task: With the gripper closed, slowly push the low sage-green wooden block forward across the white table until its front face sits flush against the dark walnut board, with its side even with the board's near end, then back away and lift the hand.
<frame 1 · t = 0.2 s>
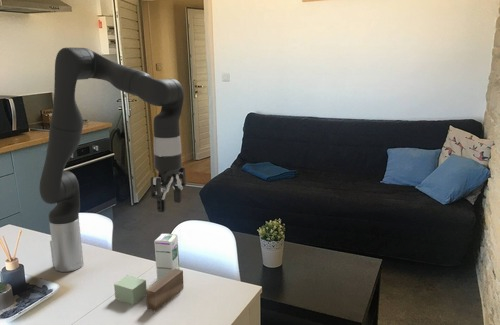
hand: (169, 206, 123), 29 cm above the table, tool pointing down, fingers open, 8 cm apart
syrup box: (168, 278, 140), on the table
walnut board: (166, 297, 129), on the table
sage block: (131, 297, 129), on the table
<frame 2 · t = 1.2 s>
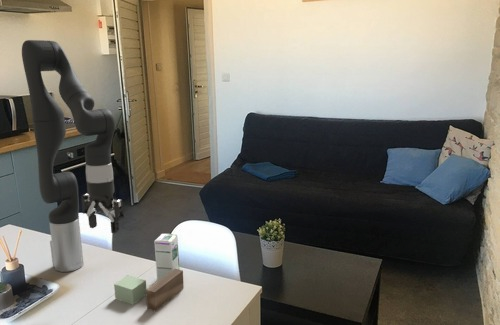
hand: (104, 229, 128), 20 cm above the table, tool pointing down, fingers open, 8 cm apart
nothing on the table moved.
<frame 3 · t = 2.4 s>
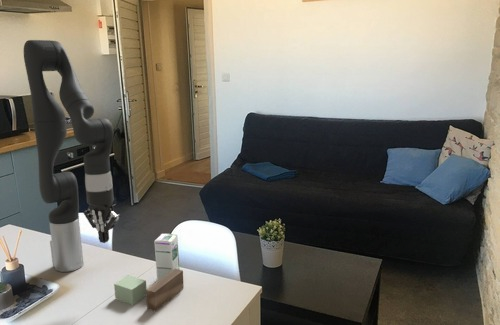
hand: (104, 241, 129), 16 cm above the table, tool pointing down, fingers closed
nothing on the table moved.
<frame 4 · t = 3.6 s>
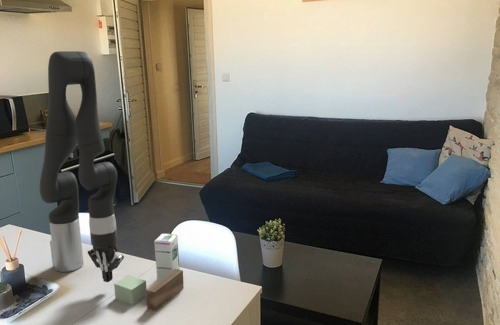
hand: (107, 280, 132), 3 cm above the table, tool pointing down, fingers closed
nothing on the table moved.
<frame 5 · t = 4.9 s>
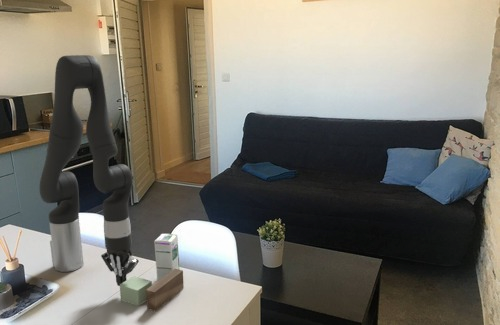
hand: (121, 284, 130), 3 cm above the table, tool pointing down, fingers closed
sage block: (136, 297, 129), on the table, touching gripper
everything else where it was.
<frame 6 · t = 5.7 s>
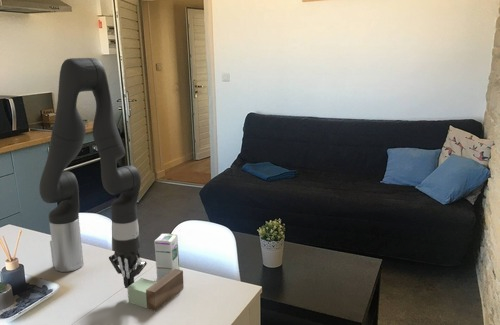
hand: (129, 287, 129), 3 cm above the table, tool pointing down, fingers closed
sage block: (144, 300, 127), on the table, touching gripper, walnut board
everything else where it was.
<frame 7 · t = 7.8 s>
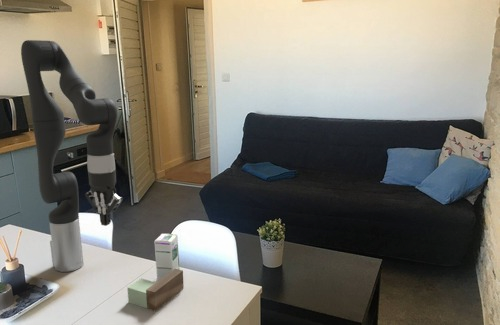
hand: (105, 224, 127), 22 cm above the table, tool pointing down, fingers closed
sage block: (144, 300, 127), on the table
everything else where it was.
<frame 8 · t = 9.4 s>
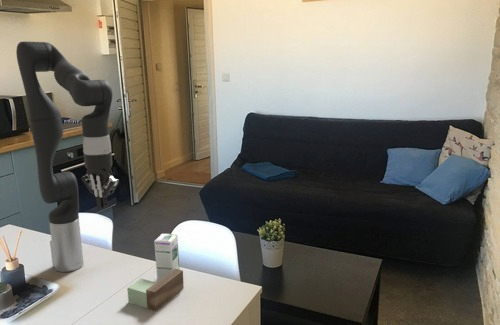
hand: (102, 208, 126), 27 cm above the table, tool pointing down, fingers closed
nothing on the table moved.
at the end: sage block 0.3 cm from the target spot on the table beside the walnut board, on the table; sage block tilted 0° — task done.
